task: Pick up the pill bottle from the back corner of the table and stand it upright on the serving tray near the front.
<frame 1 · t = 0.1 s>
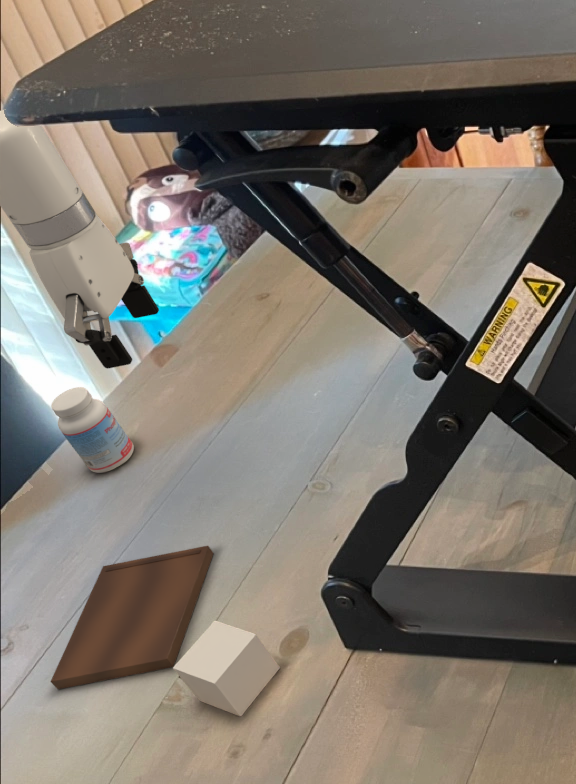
hand: (133, 339, 127), 22 cm above the table, tool pointing down, fingers open, 9 cm apart
white cube: (241, 685, 112), on the table
serving tray: (139, 617, 122), on the table
pill bottle: (113, 459, 146), on the table
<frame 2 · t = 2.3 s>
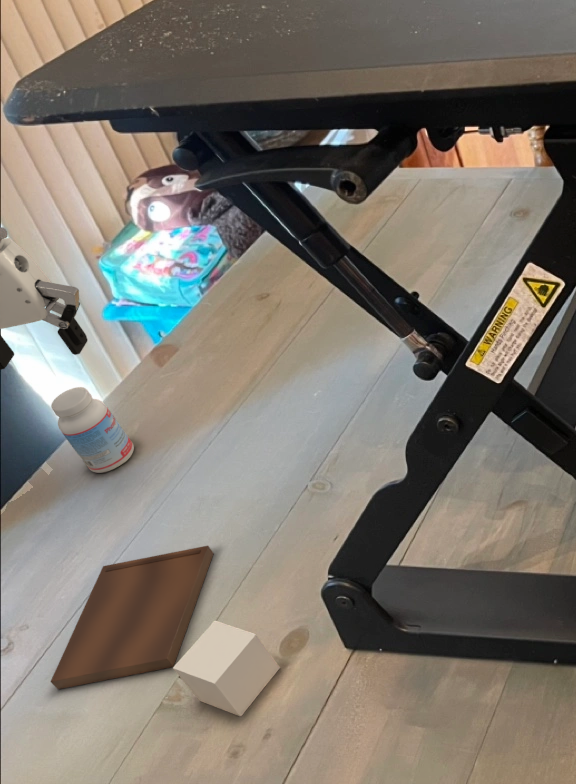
hand: (44, 355, 134), 19 cm above the table, tool pointing down, fingers open, 9 cm apart
nothing on the table moved.
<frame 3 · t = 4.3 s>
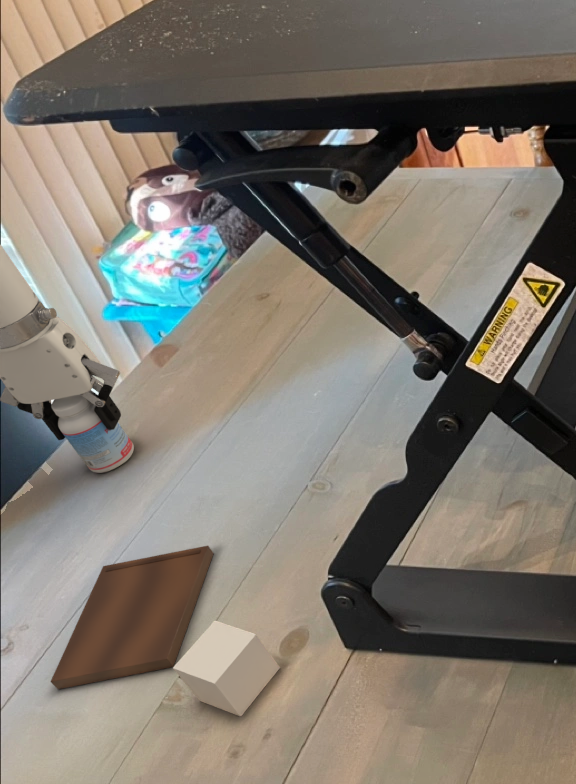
hand: (90, 427, 142), 6 cm above the table, tool pointing down, fingers closed on pill bottle, 6 cm apart
pill bottle: (113, 459, 146), on the table, touching gripper
everything else where it was.
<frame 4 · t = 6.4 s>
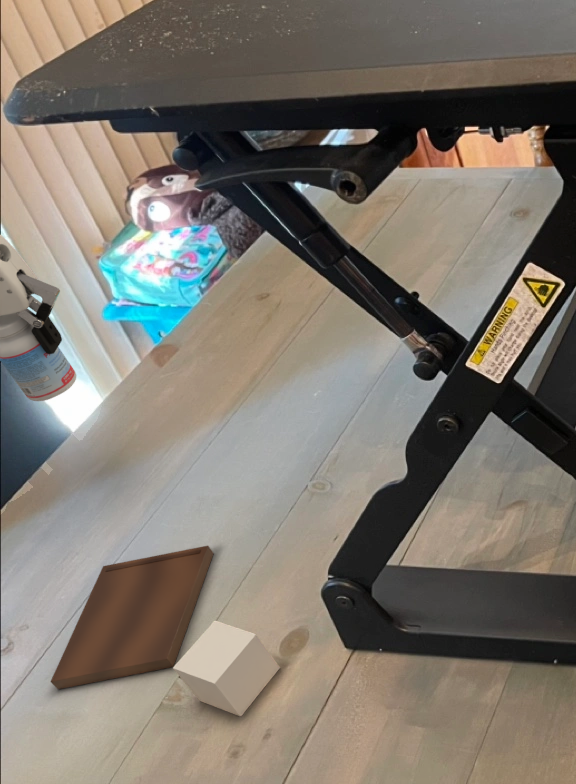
hand: (28, 351, 133), 20 cm above the table, tool pointing down, fingers closed on pill bottle, 6 cm apart
pill bottle: (54, 388, 136), point 14 cm above the table, touching gripper
everything else where it was.
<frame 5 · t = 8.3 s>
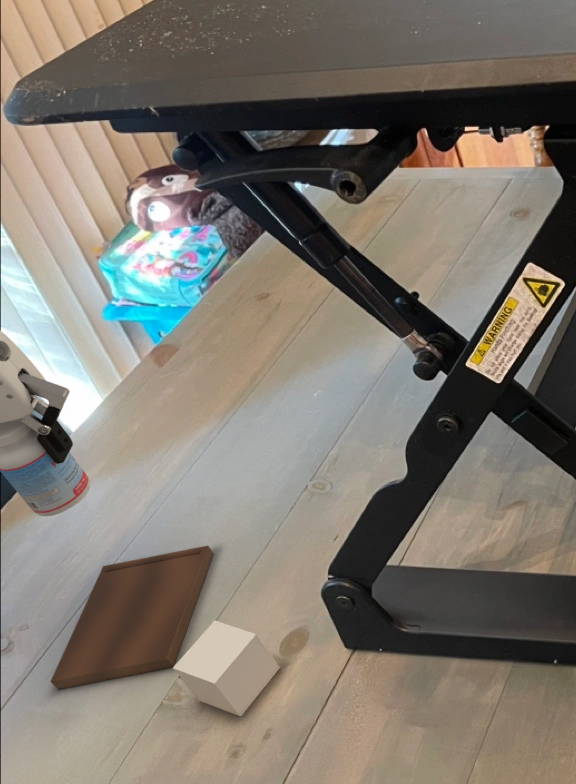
hand: (33, 459, 113), 22 cm above the table, tool pointing down, fingers closed on pill bottle, 6 cm apart
pill bottle: (64, 498, 117), point 16 cm above the table, touching gripper
everything else where it was.
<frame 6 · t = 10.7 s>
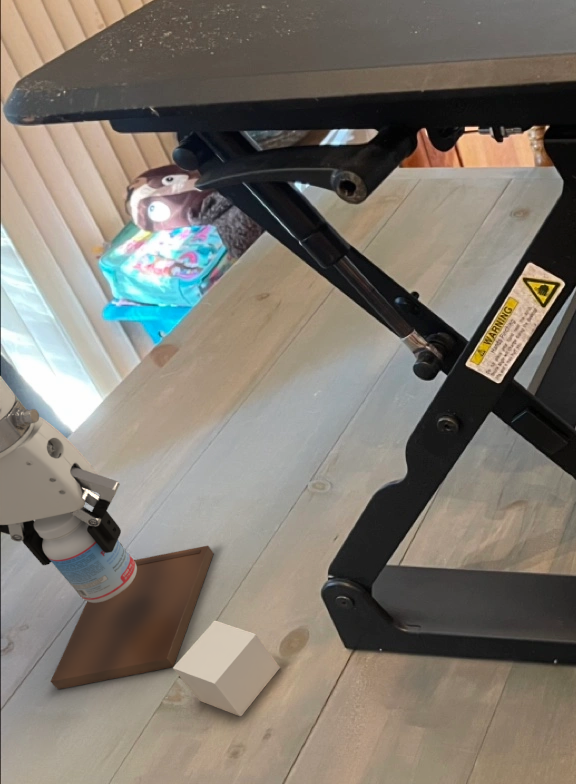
hand: (82, 547, 114), 12 cm above the table, tool pointing down, fingers closed on pill bottle, 6 cm apart
pill bottle: (111, 583, 118), point 6 cm above the table, touching gripper
everything else where it was.
when the fingers open (7 cm above the table, at t = 12.5 s): pill bottle stays where it is, resting on serving tray.
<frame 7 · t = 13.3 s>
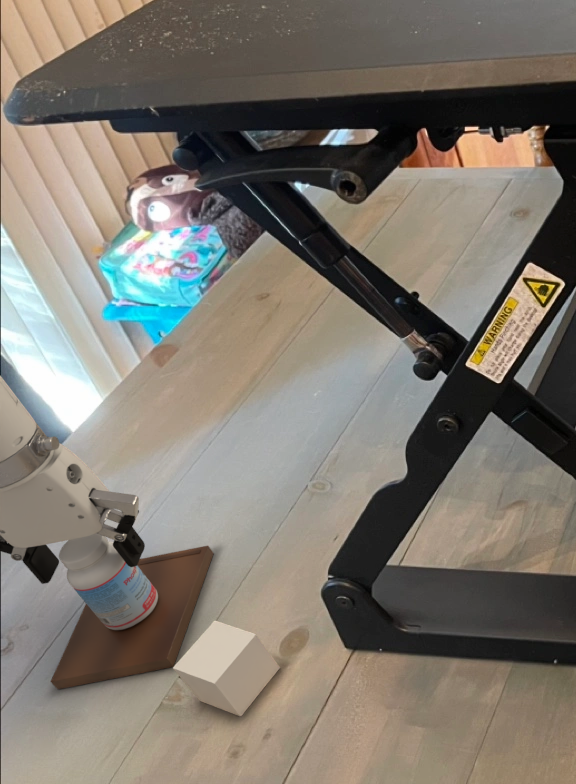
hand: (94, 565, 116), 10 cm above the table, tool pointing down, fingers open, 9 cm apart
pill bottle: (133, 610, 121), point 1 cm above the table, touching serving tray
everything else where it was.
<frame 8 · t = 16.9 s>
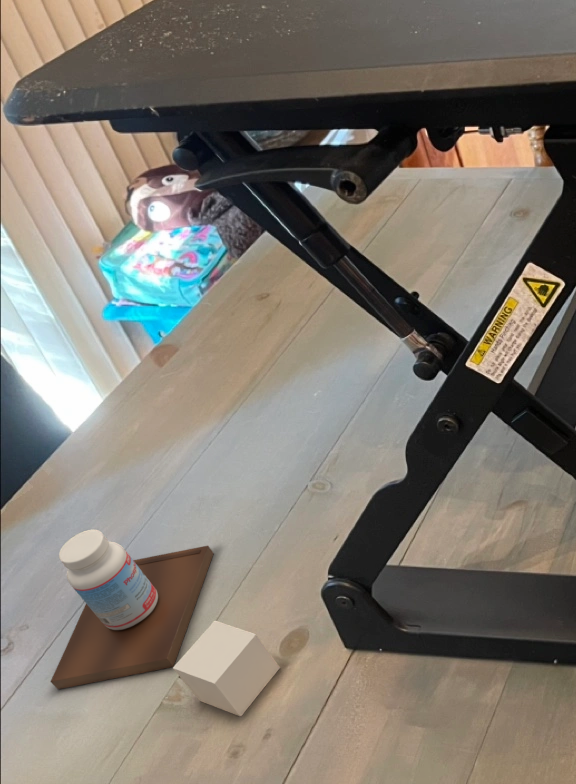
nothing on the table moved.
at the end: pill bottle inside the target area on the serving tray (0.1 cm from its centre), point 1.3 cm above the serving tray's base; pill bottle tilted 0°; the gripper is holding nothing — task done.
